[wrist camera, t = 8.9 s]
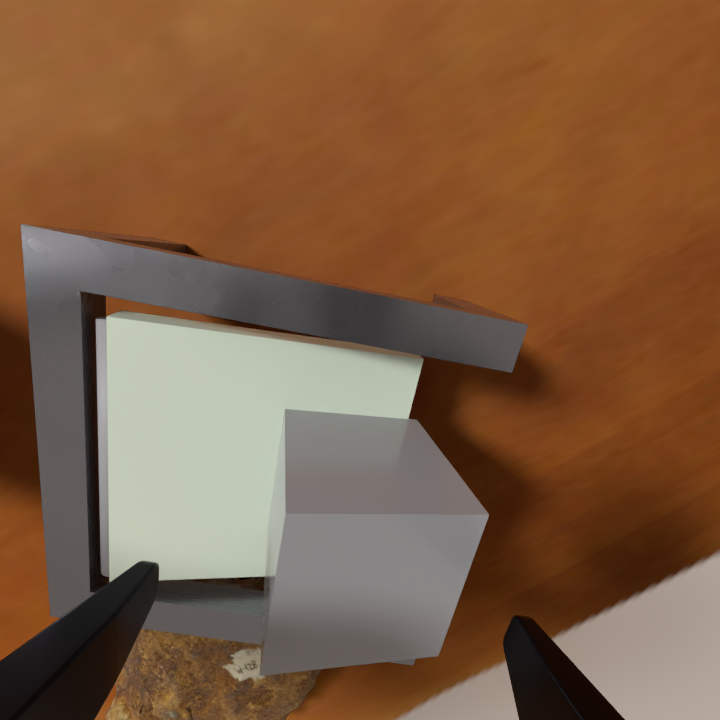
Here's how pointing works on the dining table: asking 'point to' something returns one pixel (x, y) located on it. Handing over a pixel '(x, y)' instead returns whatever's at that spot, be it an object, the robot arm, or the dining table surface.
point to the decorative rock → (204, 677)
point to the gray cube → (362, 543)
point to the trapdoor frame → (209, 297)
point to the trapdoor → (214, 433)
